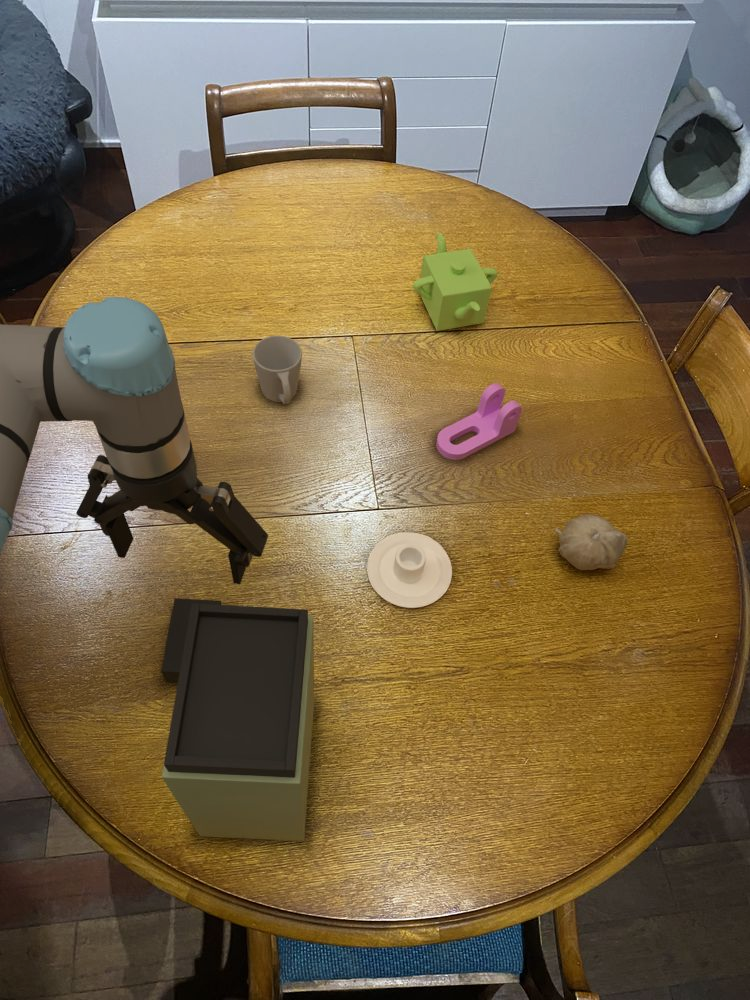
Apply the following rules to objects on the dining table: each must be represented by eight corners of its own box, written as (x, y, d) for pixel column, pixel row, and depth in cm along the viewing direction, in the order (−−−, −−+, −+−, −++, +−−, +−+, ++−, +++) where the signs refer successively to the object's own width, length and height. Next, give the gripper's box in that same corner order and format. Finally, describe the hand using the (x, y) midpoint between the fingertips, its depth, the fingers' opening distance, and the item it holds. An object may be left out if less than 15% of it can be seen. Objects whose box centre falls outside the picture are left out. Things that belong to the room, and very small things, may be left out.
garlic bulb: (607, 566, 116) (652, 541, 108) (575, 596, 112) (621, 573, 103) (566, 515, 117) (609, 487, 109) (534, 543, 112) (575, 516, 104)
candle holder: (439, 529, 115) (443, 513, 111) (461, 602, 109) (466, 588, 105) (359, 541, 113) (360, 526, 109) (376, 616, 107) (378, 602, 103)
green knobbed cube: (431, 273, 145) (438, 225, 137) (498, 297, 143) (510, 250, 134) (398, 325, 137) (404, 277, 129) (469, 351, 135) (480, 305, 126)
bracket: (493, 408, 128) (501, 379, 123) (514, 431, 126) (524, 403, 120) (429, 440, 124) (434, 412, 118) (450, 465, 122) (457, 437, 116)
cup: (296, 368, 131) (295, 331, 123) (311, 413, 125) (311, 377, 118) (251, 376, 129) (247, 339, 122) (265, 422, 124) (262, 387, 117)
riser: (199, 836, 90) (161, 777, 68) (219, 700, 99) (190, 608, 77) (304, 841, 91) (300, 783, 68) (314, 705, 100) (313, 615, 77)
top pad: (213, 685, 100) (209, 673, 97) (166, 682, 100) (160, 671, 97) (223, 613, 106) (220, 600, 102) (179, 611, 105) (174, 598, 102)
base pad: (168, 771, 68) (163, 764, 66) (194, 613, 76) (191, 603, 74) (295, 777, 68) (294, 770, 66) (308, 619, 77) (307, 609, 75)
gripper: (293, 444, 73) (297, 556, 90) (38, 390, 74) (92, 510, 92) (269, 510, 69) (279, 614, 86) (1, 451, 70) (64, 564, 88)
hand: (183, 560), depth 89 cm, fingers open, 13 cm apart
